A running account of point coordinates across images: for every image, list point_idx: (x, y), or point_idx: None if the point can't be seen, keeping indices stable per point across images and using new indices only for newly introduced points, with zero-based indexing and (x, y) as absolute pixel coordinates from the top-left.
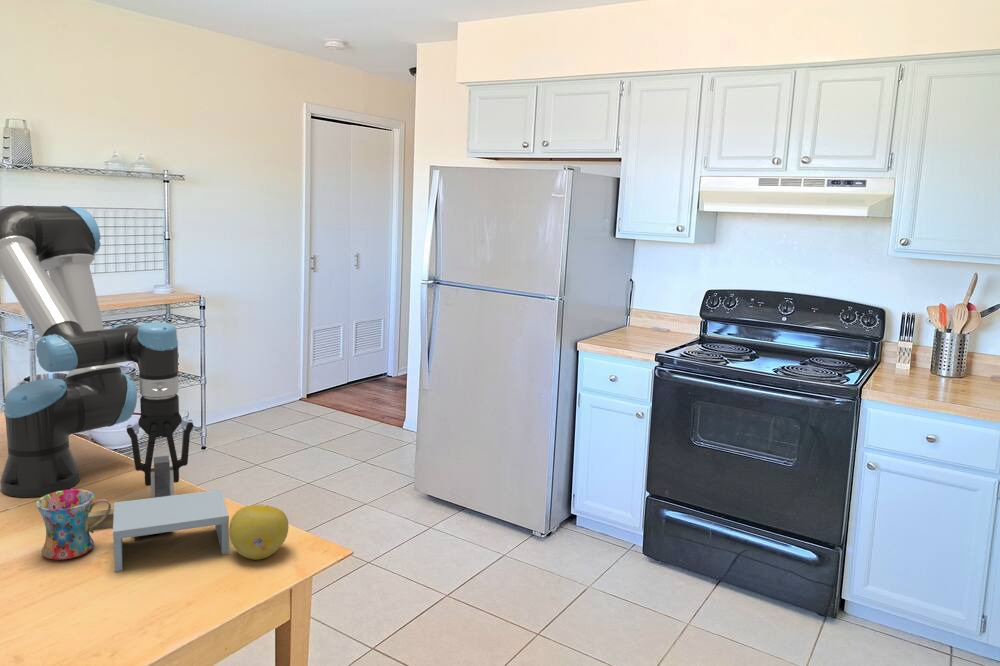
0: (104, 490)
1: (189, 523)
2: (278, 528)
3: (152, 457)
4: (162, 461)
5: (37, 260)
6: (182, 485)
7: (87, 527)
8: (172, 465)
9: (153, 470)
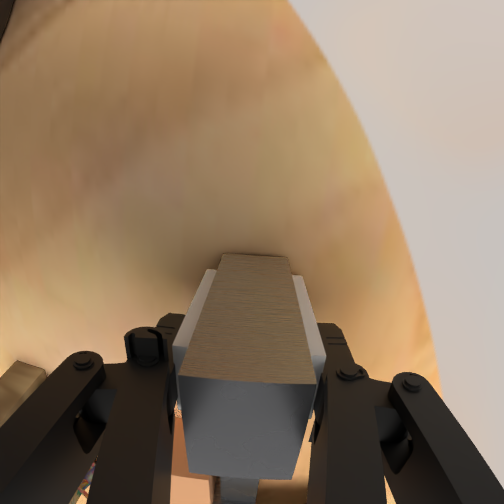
0: (51, 105)
1: None
2: None
3: (169, 489)
4: (246, 465)
5: None
6: (358, 155)
7: (76, 496)
8: (312, 438)
9: None
